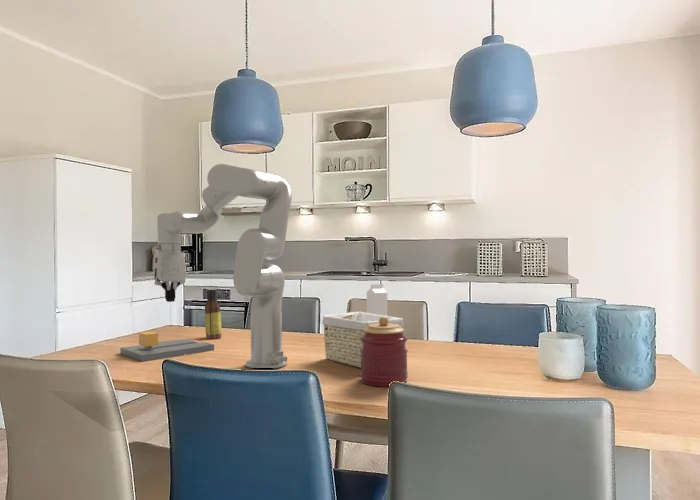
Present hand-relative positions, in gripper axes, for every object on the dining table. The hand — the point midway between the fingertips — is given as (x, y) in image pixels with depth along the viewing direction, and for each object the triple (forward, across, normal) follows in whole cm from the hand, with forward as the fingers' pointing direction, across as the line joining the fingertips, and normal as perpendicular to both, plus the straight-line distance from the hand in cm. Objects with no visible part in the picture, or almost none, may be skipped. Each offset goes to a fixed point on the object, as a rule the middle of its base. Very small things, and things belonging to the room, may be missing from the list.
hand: (170, 301), depth 181 cm
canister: (+20, +22, -78) cm, 84 cm away
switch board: (+18, 0, +3) cm, 18 cm away
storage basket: (+20, +36, -57) cm, 70 cm away
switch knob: (+16, -7, +3) cm, 17 cm away
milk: (+19, +69, -35) cm, 79 cm away
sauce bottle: (+18, +27, +17) cm, 36 cm away
